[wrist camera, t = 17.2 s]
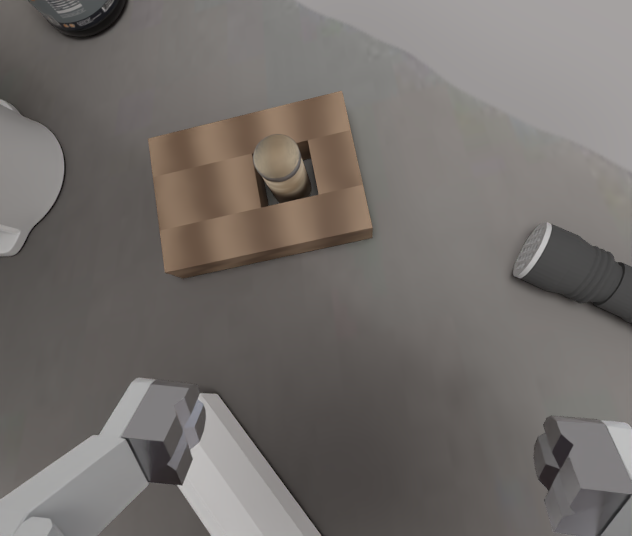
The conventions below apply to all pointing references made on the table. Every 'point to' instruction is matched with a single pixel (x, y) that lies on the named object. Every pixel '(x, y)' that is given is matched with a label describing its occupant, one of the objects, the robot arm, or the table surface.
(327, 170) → the socket block
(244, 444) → the white faceted prism
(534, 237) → the flashlight
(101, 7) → the supplement container
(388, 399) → the table surface
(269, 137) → the beech pin
